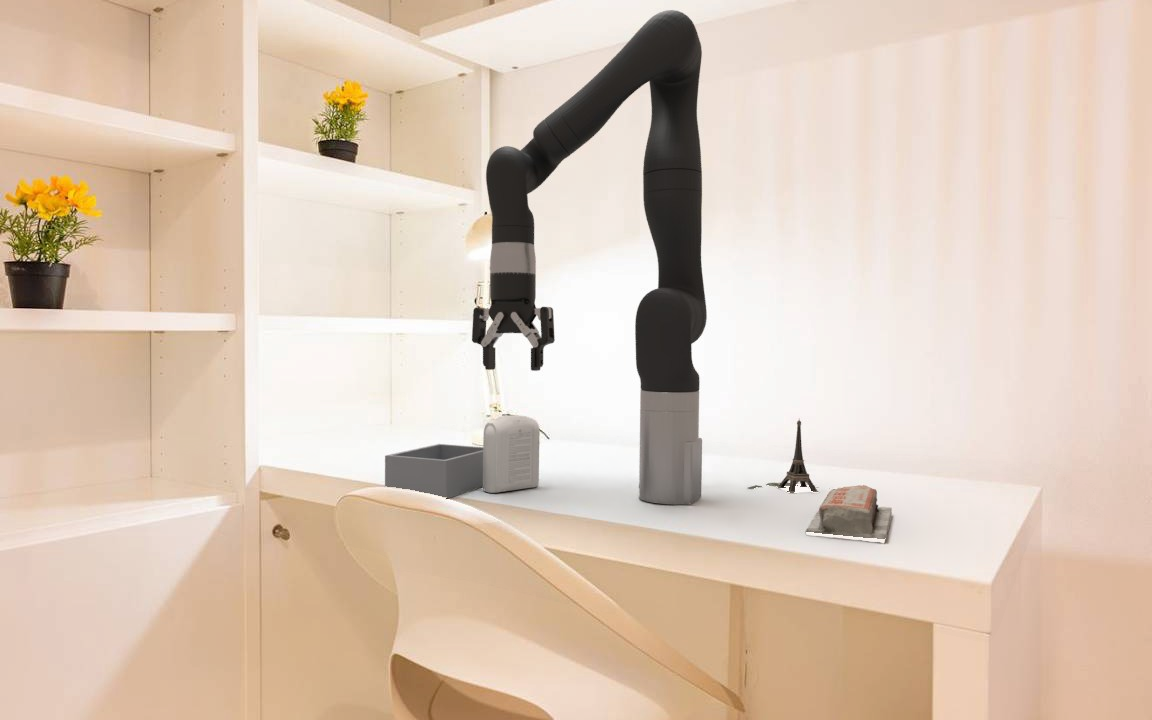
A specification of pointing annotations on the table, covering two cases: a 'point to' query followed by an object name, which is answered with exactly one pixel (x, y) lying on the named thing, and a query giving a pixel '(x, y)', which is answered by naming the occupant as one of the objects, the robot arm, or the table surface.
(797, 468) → the eiffel tower figurine
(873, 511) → the packaged product
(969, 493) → the table surface
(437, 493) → the crate
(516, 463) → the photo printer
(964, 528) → the table surface
